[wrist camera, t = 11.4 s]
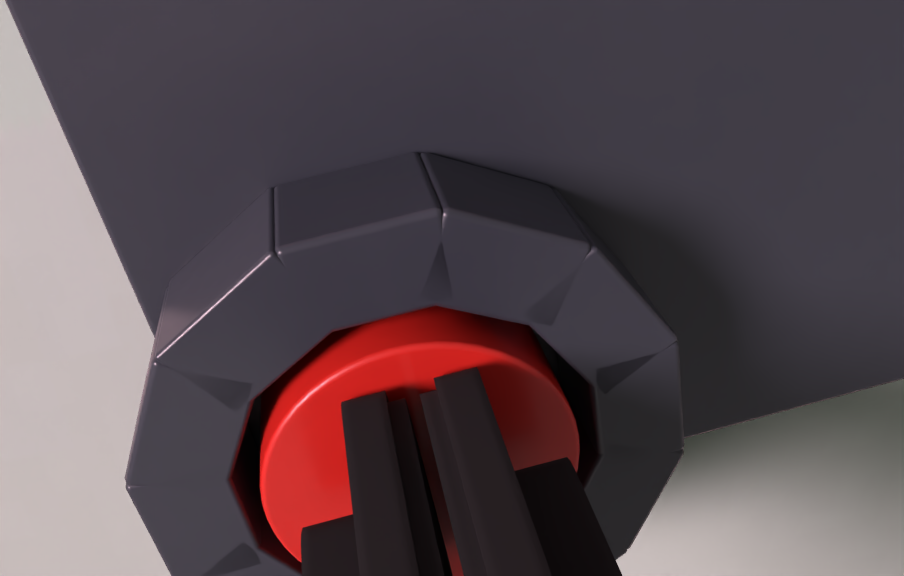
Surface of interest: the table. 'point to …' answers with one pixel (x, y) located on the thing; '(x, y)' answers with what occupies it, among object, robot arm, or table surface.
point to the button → (406, 376)
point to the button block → (486, 213)
